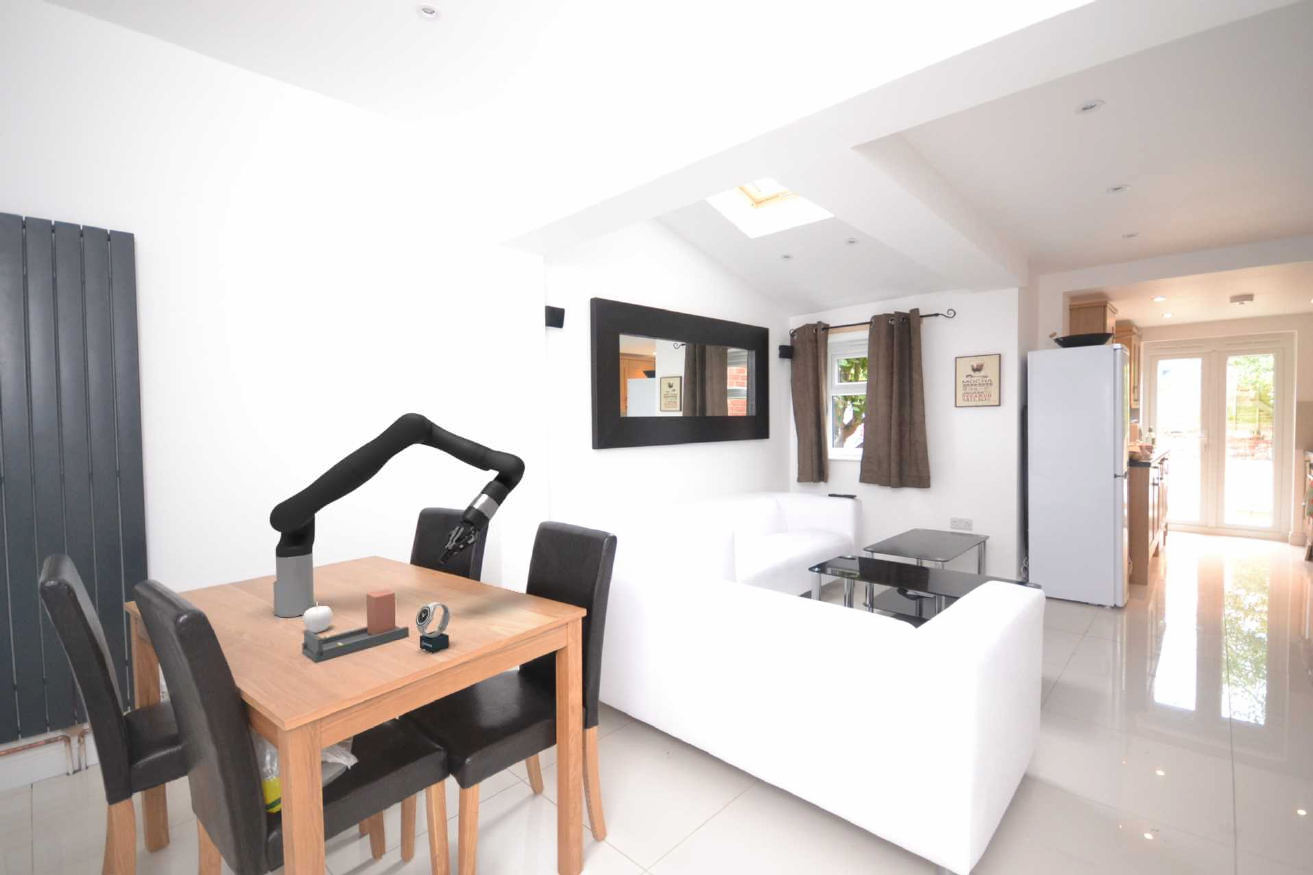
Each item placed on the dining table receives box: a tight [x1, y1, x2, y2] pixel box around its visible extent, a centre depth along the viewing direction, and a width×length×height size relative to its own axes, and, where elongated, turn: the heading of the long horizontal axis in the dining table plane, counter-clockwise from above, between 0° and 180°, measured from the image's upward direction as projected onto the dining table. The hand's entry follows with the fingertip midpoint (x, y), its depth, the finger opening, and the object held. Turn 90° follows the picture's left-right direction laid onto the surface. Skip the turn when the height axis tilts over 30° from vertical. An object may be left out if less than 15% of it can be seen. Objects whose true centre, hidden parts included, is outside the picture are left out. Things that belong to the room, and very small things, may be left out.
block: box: [366, 589, 396, 635], centre depth 153 cm, size 5×5×10 cm
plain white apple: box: [302, 600, 334, 634], centre depth 160 cm, size 7×7×8 cm
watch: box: [415, 601, 451, 654], centre depth 146 cm, size 6×8×11 cm
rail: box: [301, 625, 410, 663], centre depth 149 cm, size 22×9×5 cm, turn 138°
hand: (441, 562), depth 166 cm, fingers closed
